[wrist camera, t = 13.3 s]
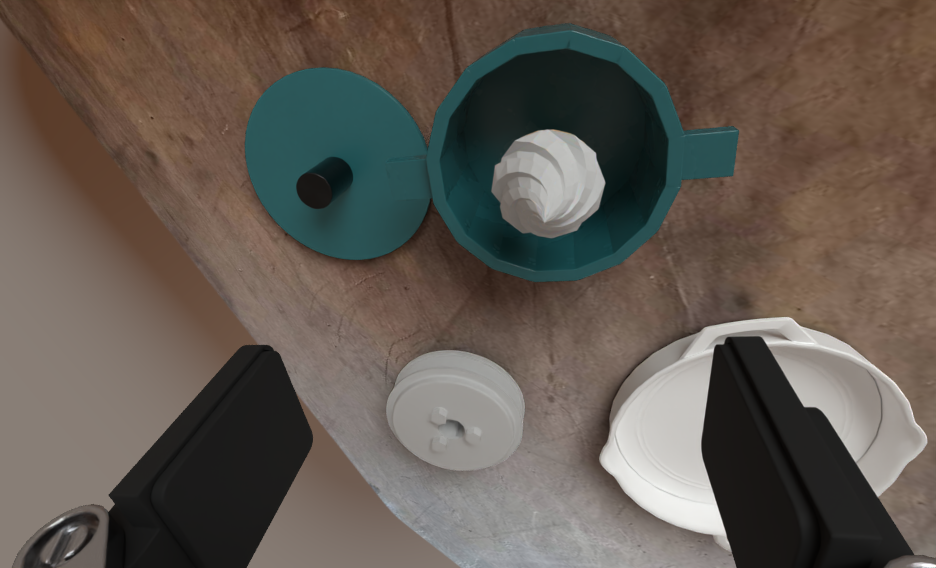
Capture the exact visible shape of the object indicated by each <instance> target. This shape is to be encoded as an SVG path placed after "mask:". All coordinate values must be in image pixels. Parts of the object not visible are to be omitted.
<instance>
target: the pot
mask: <svg viewBox="0 0 936 568" xmlns="http://www.w3.org/2000/svg"><path fill="white" fill-rule="evenodd" d="M547 129H548V130H553V129H554V130H558V131H563V132H567V133H570V134H572V135H575V136H576V137H577V138H579V139H580V140H581V141H583V142H584V143H585V144H586V145H587V146H588V147H589V148H591V149H592V150H593V151H594V152H595V153H596V159H597V162H598V165H599V167H600V170H601V173H602V175H603V178H604V180H605V186H604V190H603V194H602V197H601V201H600V205H599V209H598V210H597V211H595V212H594V213H593V214H592V215H591V216H590V217H589V218H587V219H586V220H585V221H583V222H582V223H581V225H580V227H579V228H578V230H577V231H574V232H570V233H567V234H564V235H561V236H558V237H555V238H547V237H541V236H537V235H535V234H533V233H531V232H530V233H521V232H520V231H519V230H518V229H516V228H515V227H514V226H512V225H511V224H510V223H508V222H507V221H506V220H505V219H503V218H502V213H501V209H500V205H501V203H500V202H499V200H498V199H497V198H496V197H495V195H494V194H493V193H492V192H491V191H492V184H493V177H494V169H495V165H497V164H499V163H501V159H502V157H503V156H504V154H505V153H506V152H507V150H508V149H509V148H510V146H511V145H512V144H513V142H514V141H515V140H517V139H519V138H521V137H524V136H526V135H528V134H531V133H533V132H535V131H541V130H547ZM738 135H739V130H738V129H736V128H735V127H734V126H728V127H718V128H707V129H696V130H686V131H683V128H682V126H681V123H680V120H679V118H678V115H677V112H676V110H675V107H674V104H673V102H672V99H671V96H670V93H669V91H668V88H667V86H666V85H665V83H664V82H663V81H662V80H661V79H660V78H658V77H657V76H656V75H655V74H654V73H653V72H652V71H651V70H650V69H649V68H648V67H647V66H646V65H645V64H644V63H643V62H642V61H640V60H639V59H638V58H637V57H636V56H635V55H634V54H633V53H632V52H631V51H630V50H629V49H628V48H627V47H625V46H624V45H622V44H621V43H620V42H618V41H617V40H616V39H614V38H613V37H611V36H610V35H606V34H603V33H600V32H597V31H593V30H591V29H587V28H584V27H580V26H577V25H574V24H571V23H565V24H558V25H551V26H543V27H537V28H530V29H525V30H523V31H521V32H519V33H518V34H516V35H515V36H513V37H511V38H510V39H508V40H506V41H505V42H503V43H502V44H500V45H499V46H497V47H495V48H494V49H492V50H491V51H489V52H487V53H486V54H485V55H483V56H482V57H481V58H479V59H478V60H476V61H475V62H474V63H472V64H471V65H469V66H468V67H467V68H466V69H465V70H464V72H463V73H462V75H461V76H460V77H459V79H458V80H457V82H456V83H455V85H454V86H453V87H452V89H451V90H450V92H449V93H448V95H447V96H446V98H445V99H444V100H443V102H442V103H441V105H440V106H439V108H438V109H437V111H436V114H435V118H434V123H433V127H432V132H431V137H430V141H429V146H428V151H427V155H420V156H409V157H398V158H390V159H389V160H387V161H386V162H385V166H386V171H387V176H388V180H389V185H390V189H391V194H392V198H393V201H405V200H419V199H432V198H433V204H434V205H435V207H436V209H437V211H438V212H439V214H440V215H441V217H442V219H443V220H444V222H445V224H446V225H447V227H448V228H449V230H450V232H451V233H452V235H453V236H454V238H455V240H456V241H457V242H458V243H459V244H460V245H461V246H463V247H464V248H465V249H466V250H468V251H469V252H470V253H472V254H473V255H474V256H476V257H477V258H478V259H480V260H481V261H482V262H483V263H485V264H486V265H487V266H489V267H490V268H492V269H494V270H497V271H500V272H503V273H507V274H510V275H513V276H516V277H519V278H523V279H526V280H529V281H533V282H550V281H577V280H580V279H583V278H585V277H588V276H590V275H593V274H596V273H598V272H601V271H603V270H606V269H608V268H611V267H613V266H616V265H619V264H621V263H622V262H623V261H625V260H626V259H627V258H628V257H629V256H630V255H631V254H632V253H634V252H635V251H636V250H637V249H638V248H639V247H640V246H642V245H643V244H644V243H645V242H646V241H647V240H648V239H650V238H651V237H652V236H653V235H654V234H655V233H656V232H657V231H658V230H659V228H660V226H661V224H662V222H663V220H664V218H665V216H666V215H667V213H668V211H669V209H670V207H671V205H672V203H673V201H674V199H675V197H676V195H677V194H678V192H679V190H680V187H681V180H688V179H701V178H715V177H728V176H733V173H734V165H735V158H736V150H737V143H738Z"/></svg>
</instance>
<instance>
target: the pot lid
mask: <svg viewBox="0 0 936 568" xmlns="http://www.w3.org/2000/svg"><path fill="white" fill-rule="evenodd" d="M427 151H428V148H427V145H426V143H425V140H424V137H423V135H422V133H421V132H420V130H419V128H418V126H417V124H416V123H415V121H414V120H413V118H412V117H411V115H410V114H409V112H408V111H407V110H406V109H405V108H404V107H403V105H402V104H401V103H400V102H399V101H398V100H397V99H396V98H395V97H394V96H392V95H391V94H390V93H389V92H388V91H386V90H385V89H384V88H382V87H381V86H379V85H378V84H377V83H375V82H373V81H371V80H369V79H367V78H366V77H363V76H361V75H358V74H356V73H353V72H350V71H346V70H342V69H337V68H326V67H322V68H310V69H305V70H301V71H297V72H294V73H292V74H289V75H287V76H285V77H283V78H281V79H280V80H278V81H277V82H275V83H274V84H273V85H271V86H270V87H269V88H268V89H267V90H266V91H265V92H264V93H263V95H262V96H261V97H260V98H259V100H258V101H257V103H256V105H255V107H254V108H253V110H252V113H251V116H250V118H249V121H248V125H247V130H246V137H245V157H246V163H247V168H248V172H249V175H250V179H251V182H252V184H253V187H254V189H255V191H256V194H257V195H258V197H259V199H260V201H261V203H262V204H263V206H264V207H265V209H266V210H267V212H268V213H269V214H270V216H271V217H272V218H273V219H274V220H275V221H276V223H277V224H278V225H279V226H280V227H281V228H282V229H284V230H285V231H286V232H287V233H288V234H289V235H291V236H292V237H293V238H294V239H296V240H297V241H299V242H300V243H302V244H303V245H305V246H307V247H309V248H311V249H313V250H315V251H317V252H319V253H322V254H325V255H328V256H332V257H335V258H340V259H348V260H363V259H371V258H375V257H379V256H383V255H385V254H388V253H390V252H392V251H394V250H395V249H397V248H399V247H400V246H402V245H403V244H404V243H405V242H407V241H408V240H409V239H410V238H411V237H412V236H413V234H414V233H415V232H416V231H417V229H418V228H419V226H420V225H421V223H422V222H423V220H424V218H425V215H426V213H427V211H428V208H429V205H430V201H431V199H419V200H405V201H393V198H392V194H391V189H390V185H389V180H388V176H387V171H386V166H385V162H386V161H387V160H389V159H390V158H398V157H409V156H420V155H427Z"/></svg>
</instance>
